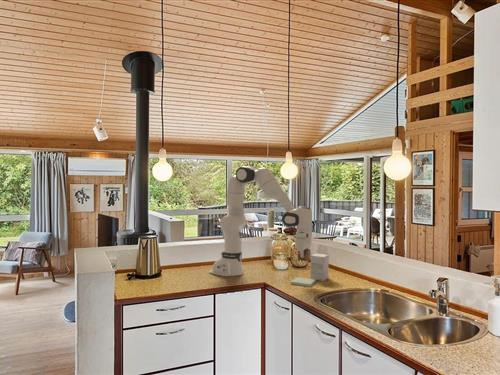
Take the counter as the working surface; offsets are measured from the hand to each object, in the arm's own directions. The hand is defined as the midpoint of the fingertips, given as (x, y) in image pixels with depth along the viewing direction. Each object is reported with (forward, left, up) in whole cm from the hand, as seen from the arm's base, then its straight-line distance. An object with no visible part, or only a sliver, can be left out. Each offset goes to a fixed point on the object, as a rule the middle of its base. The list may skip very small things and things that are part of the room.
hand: (304, 256), depth 237 cm
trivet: (0, 0, -16) cm, 16 cm away
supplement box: (+6, +15, -16) cm, 23 cm away
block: (0, 0, -2) cm, 2 cm away
